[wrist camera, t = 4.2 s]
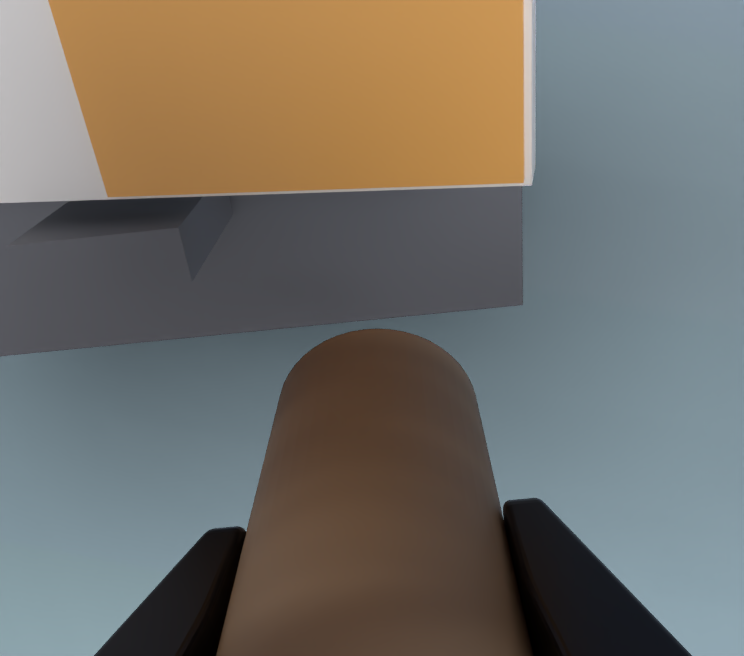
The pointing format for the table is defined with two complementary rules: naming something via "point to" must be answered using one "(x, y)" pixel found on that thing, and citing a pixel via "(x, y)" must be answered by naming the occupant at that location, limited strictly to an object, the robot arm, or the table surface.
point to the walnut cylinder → (376, 514)
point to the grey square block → (250, 263)
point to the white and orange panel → (263, 97)
